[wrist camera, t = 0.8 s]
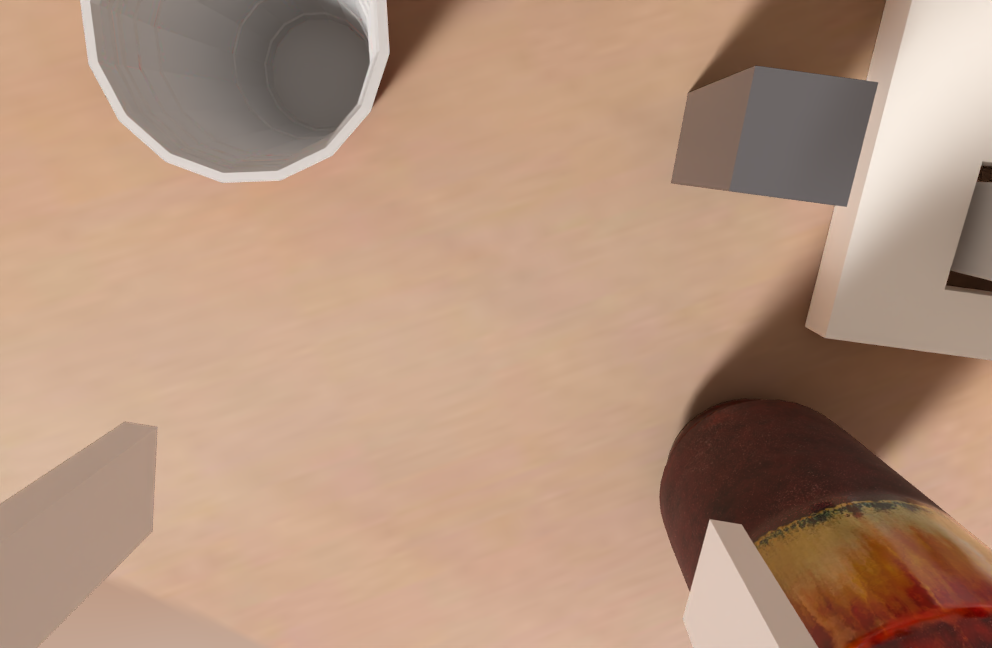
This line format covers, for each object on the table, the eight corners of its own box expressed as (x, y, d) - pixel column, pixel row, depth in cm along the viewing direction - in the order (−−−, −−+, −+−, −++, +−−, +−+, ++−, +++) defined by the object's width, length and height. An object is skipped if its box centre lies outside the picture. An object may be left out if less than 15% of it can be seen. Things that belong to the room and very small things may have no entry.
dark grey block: (688, 93, 34) (755, 65, 25) (776, 104, 34) (878, 82, 25) (670, 183, 36) (728, 190, 26) (756, 194, 36) (846, 206, 26)
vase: (878, 463, 39) (1557, 1027, 14) (740, 586, 41) (1101, 1272, 16) (745, 342, 37) (1225, 720, 12) (608, 476, 40) (773, 1036, 14)
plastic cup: (469, 33, 34) (445, -34, 22) (367, 215, 36) (297, 240, 25) (281, -90, 33) (154, -227, 21) (189, 106, 35) (28, 79, 24)
